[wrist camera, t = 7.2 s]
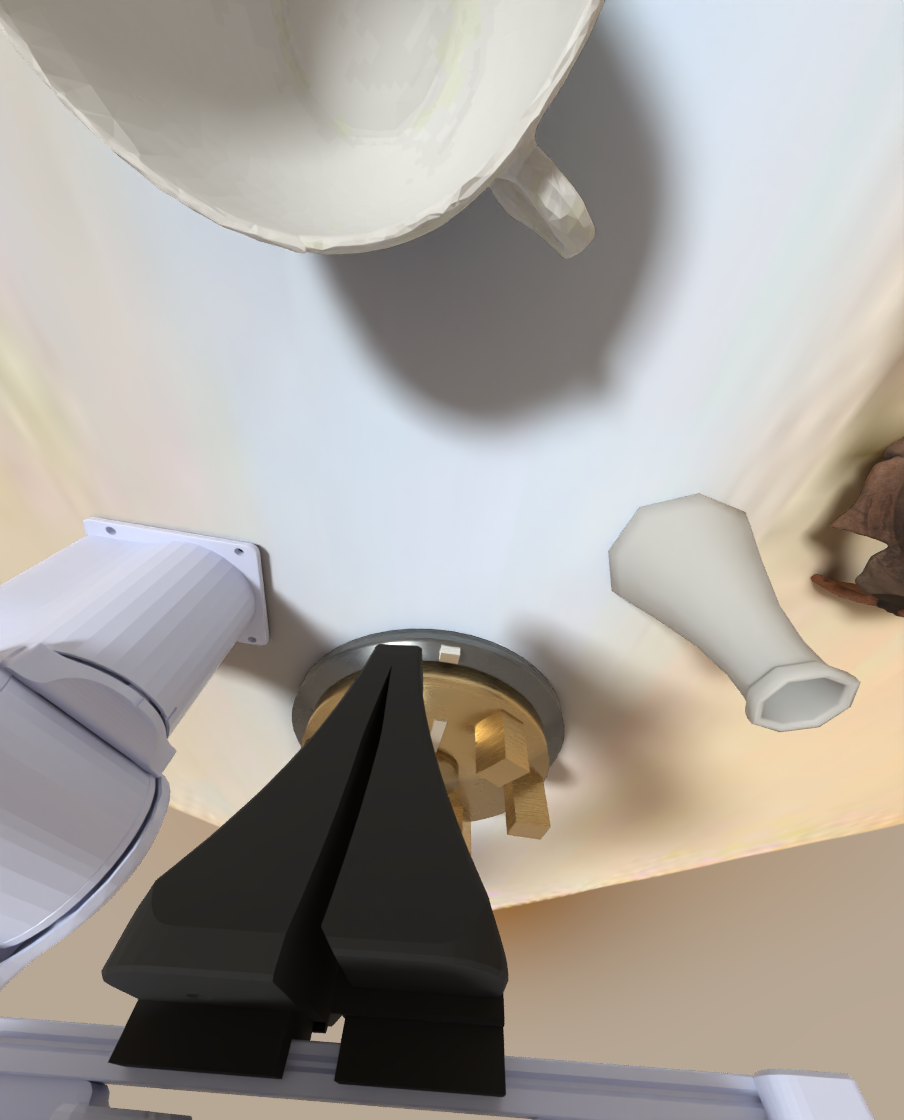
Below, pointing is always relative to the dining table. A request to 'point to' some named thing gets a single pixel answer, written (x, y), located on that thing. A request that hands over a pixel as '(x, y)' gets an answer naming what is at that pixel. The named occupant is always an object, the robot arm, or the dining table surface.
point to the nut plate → (436, 649)
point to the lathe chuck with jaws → (476, 746)
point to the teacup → (323, 108)
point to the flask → (726, 608)
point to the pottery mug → (878, 536)
